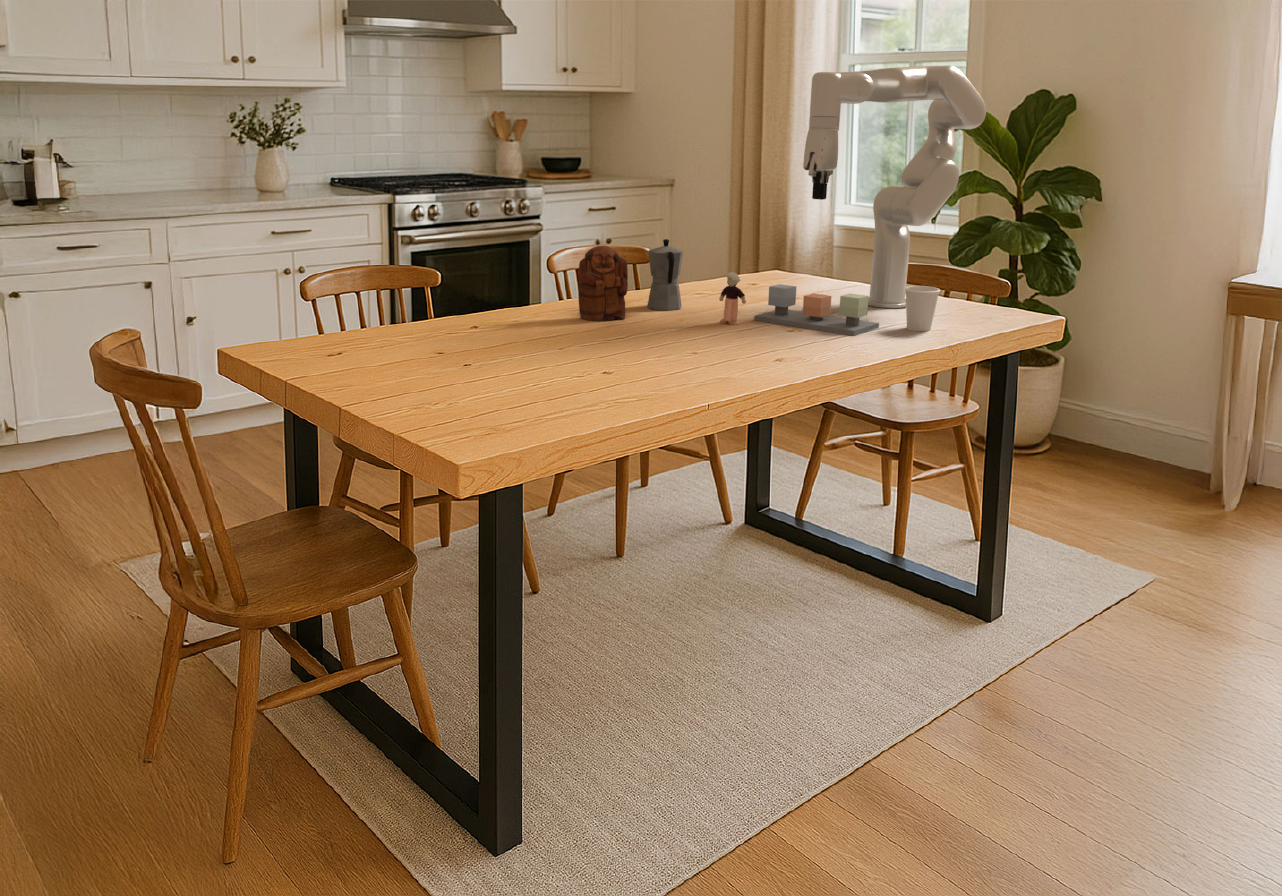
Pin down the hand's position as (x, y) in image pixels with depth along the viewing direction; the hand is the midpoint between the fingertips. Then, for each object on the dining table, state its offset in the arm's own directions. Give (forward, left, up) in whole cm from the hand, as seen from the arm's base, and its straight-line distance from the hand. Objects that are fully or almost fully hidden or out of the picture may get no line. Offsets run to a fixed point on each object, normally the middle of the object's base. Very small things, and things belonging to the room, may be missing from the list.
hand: (819, 199), depth 278 cm
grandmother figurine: (+28, -7, -29) cm, 41 cm away
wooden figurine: (+45, -34, -29) cm, 64 cm away
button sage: (+14, +19, -26) cm, 35 cm away
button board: (+14, +9, -29) cm, 34 cm away
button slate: (+14, -1, -26) cm, 29 cm away
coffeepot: (+23, -31, -29) cm, 48 cm away
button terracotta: (+14, +9, -27) cm, 32 cm away
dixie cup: (+2, +31, -29) cm, 43 cm away
